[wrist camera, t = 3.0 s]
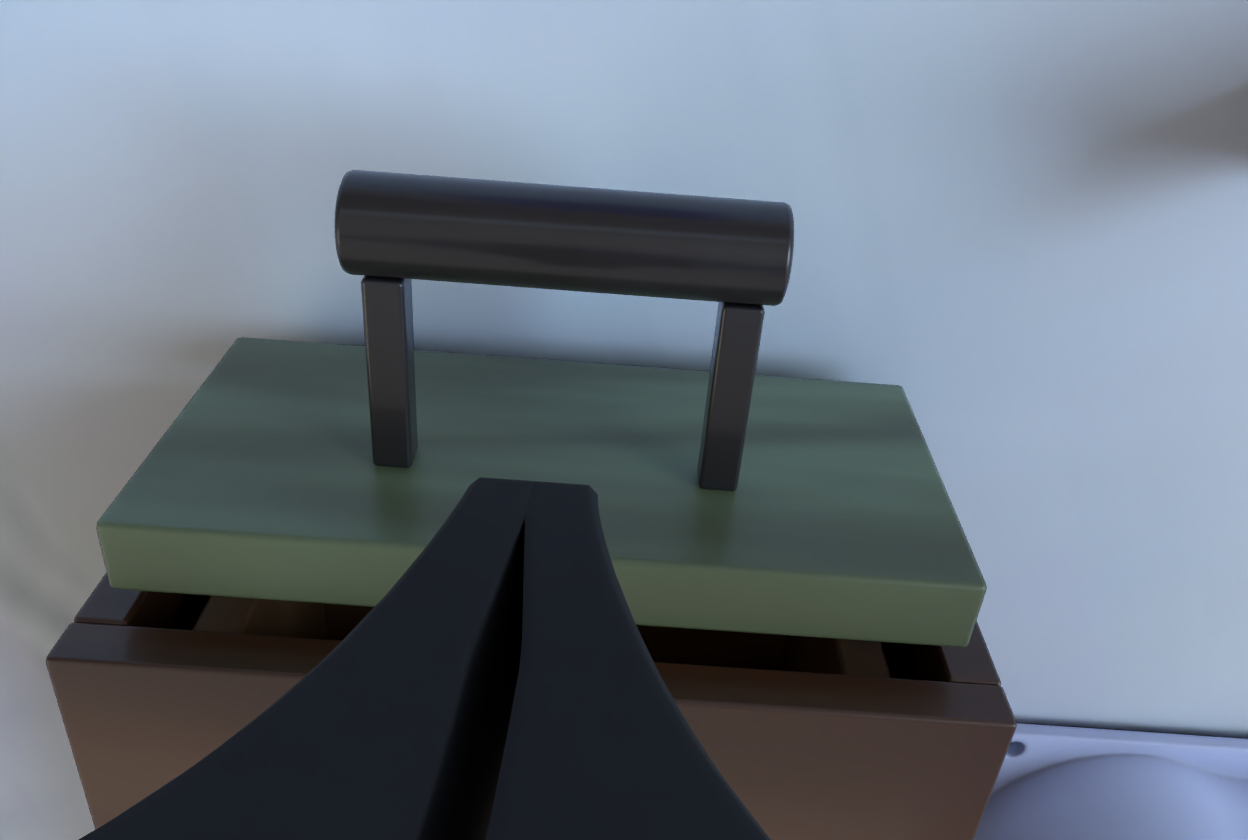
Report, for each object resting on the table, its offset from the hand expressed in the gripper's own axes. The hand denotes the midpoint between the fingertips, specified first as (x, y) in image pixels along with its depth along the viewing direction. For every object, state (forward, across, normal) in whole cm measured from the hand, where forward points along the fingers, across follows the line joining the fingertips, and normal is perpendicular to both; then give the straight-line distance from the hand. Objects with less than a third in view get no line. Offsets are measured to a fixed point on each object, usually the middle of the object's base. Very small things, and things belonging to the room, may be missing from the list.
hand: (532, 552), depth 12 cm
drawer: (+8, 0, +6) cm, 10 cm away
